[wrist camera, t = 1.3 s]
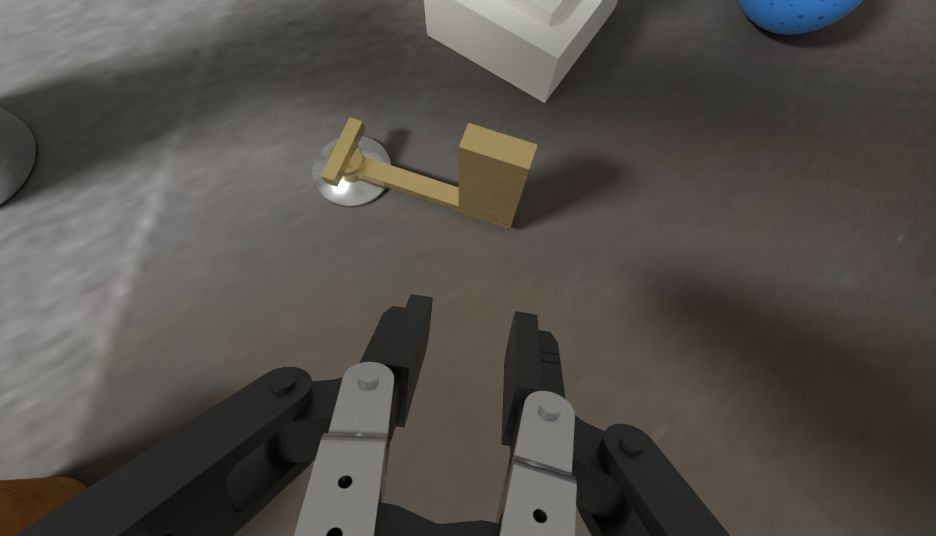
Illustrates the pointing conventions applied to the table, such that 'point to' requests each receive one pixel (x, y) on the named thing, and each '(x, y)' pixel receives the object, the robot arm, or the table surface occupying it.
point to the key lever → (480, 182)
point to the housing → (519, 36)
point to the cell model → (796, 14)
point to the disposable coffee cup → (32, 500)
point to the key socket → (350, 191)
